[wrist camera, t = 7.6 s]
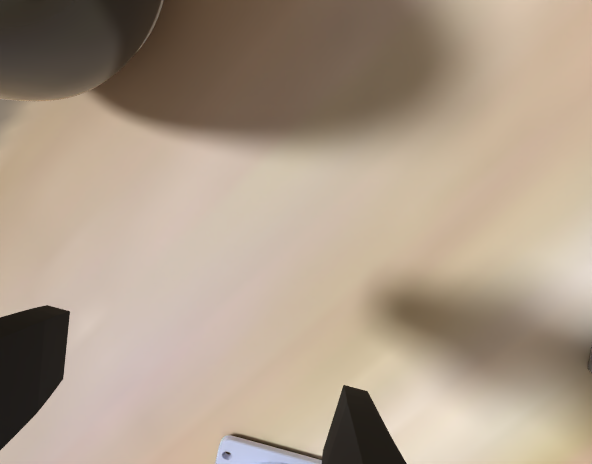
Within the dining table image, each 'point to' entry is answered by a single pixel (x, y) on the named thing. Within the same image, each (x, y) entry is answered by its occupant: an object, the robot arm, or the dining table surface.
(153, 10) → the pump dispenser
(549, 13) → the dining table surface
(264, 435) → the dining table surface
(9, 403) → the robot arm
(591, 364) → the slate base
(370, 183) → the dining table surface
